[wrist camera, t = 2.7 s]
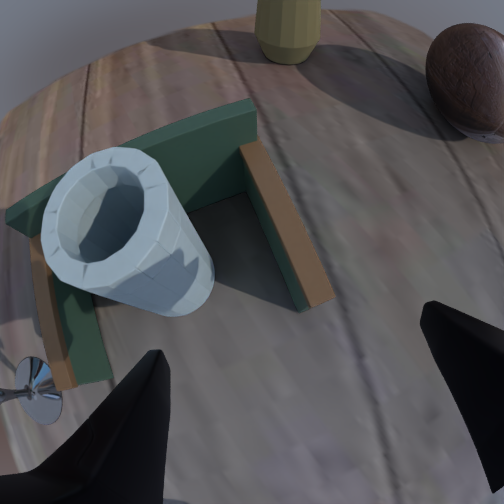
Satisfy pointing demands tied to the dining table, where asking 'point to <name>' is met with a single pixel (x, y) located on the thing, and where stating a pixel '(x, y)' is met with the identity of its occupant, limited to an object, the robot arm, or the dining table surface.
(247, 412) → the dining table surface
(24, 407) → the wine glass
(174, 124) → the cubby cabinet
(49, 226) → the storage jar
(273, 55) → the squeeze bottle
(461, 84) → the wooden sphere
